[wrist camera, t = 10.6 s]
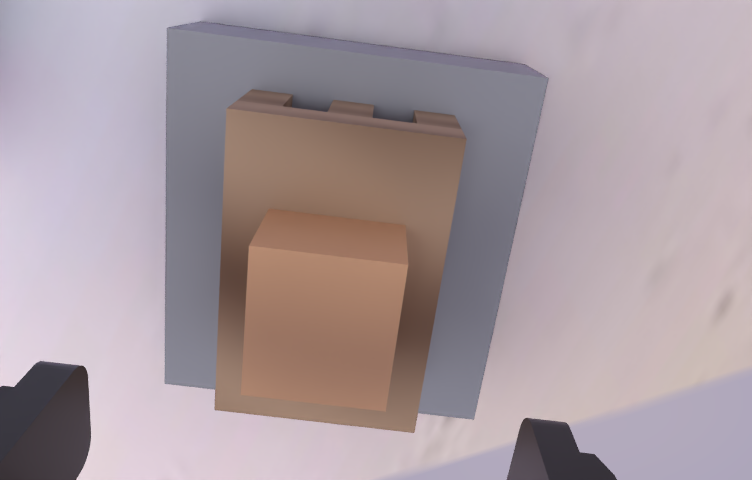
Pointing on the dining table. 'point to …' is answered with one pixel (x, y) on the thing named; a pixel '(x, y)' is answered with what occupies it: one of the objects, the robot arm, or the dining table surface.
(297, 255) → the block
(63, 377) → the robot arm
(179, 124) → the dock
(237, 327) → the pallet
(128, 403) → the dining table surface
